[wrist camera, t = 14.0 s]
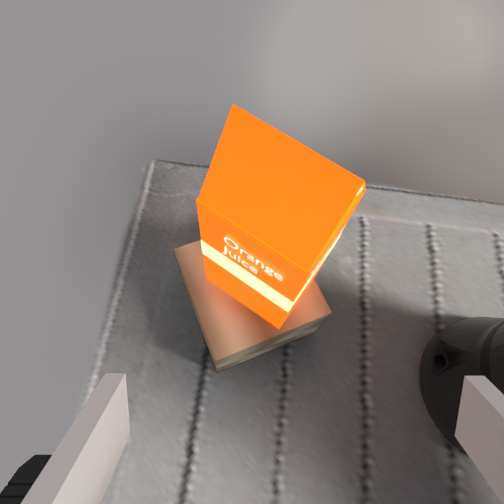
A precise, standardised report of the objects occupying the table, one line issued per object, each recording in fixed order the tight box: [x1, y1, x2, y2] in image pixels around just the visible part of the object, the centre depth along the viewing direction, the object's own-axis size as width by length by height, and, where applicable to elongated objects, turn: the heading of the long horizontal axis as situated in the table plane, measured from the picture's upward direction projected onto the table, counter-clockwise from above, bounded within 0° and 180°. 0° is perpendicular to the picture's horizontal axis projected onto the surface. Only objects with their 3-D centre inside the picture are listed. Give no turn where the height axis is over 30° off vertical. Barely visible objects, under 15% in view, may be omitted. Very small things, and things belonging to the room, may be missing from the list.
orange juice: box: [196, 104, 365, 329], centre depth 30 cm, size 8×9×20 cm
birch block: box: [174, 240, 332, 373], centre depth 43 cm, size 12×12×8 cm
